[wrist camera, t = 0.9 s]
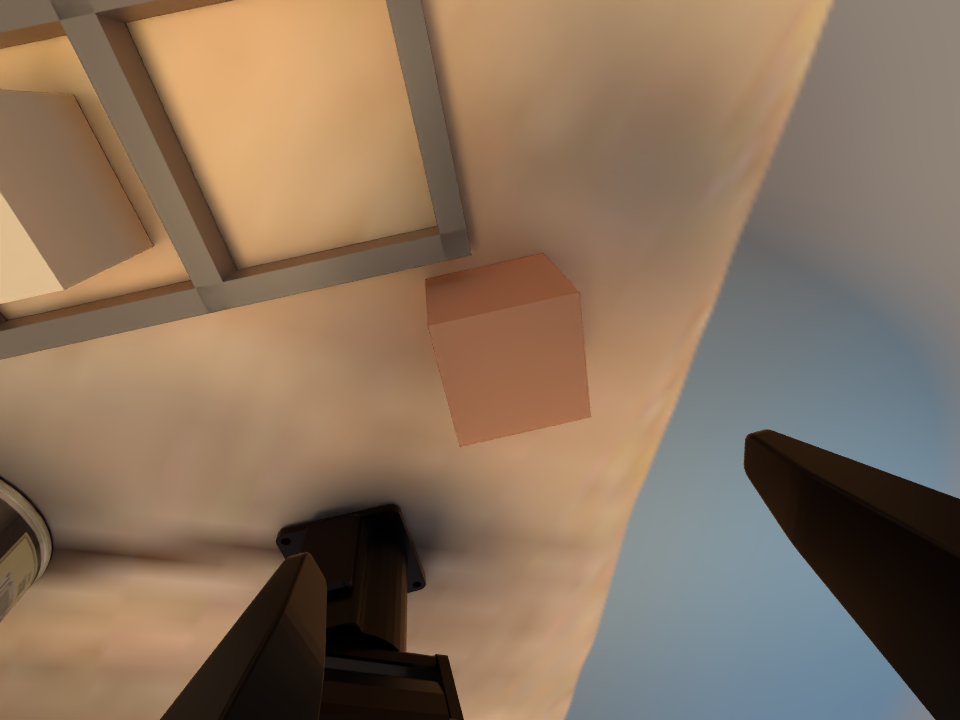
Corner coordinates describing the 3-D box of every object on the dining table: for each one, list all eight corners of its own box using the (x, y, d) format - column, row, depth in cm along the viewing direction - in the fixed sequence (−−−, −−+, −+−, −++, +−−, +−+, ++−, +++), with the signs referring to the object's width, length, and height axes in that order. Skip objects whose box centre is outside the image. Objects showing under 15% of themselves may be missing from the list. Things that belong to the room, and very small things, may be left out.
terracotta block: (555, 356, 22) (590, 417, 17) (450, 380, 22) (459, 447, 17) (542, 252, 19) (579, 292, 15) (425, 278, 19) (427, 326, 15)
